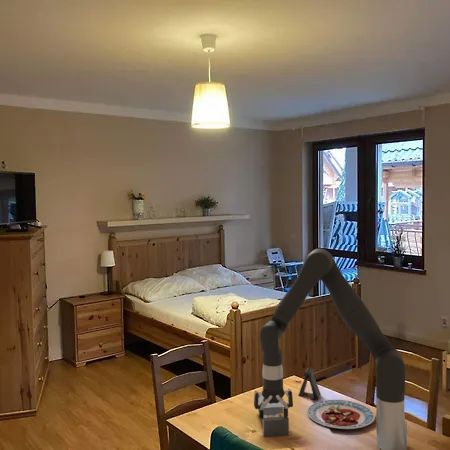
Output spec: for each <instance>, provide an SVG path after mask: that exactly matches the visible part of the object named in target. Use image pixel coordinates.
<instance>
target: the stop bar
mask: <svg viewBox="0 0 450 450" xmlns="http://www.w3.org/2000/svg"><path fill="white" fill-rule="evenodd" d="M289 420H290V419H289V416H288V417H284V416H280V417H270V418H263V422H262V435H263V438H273V437H275V438H276V437H290V429H289V428H290V425H289V424H290V422H289Z"/></svg>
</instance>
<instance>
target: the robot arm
mask: <svg viewBox="0 0 450 450" xmlns="http://www.w3.org/2000/svg"><path fill="white" fill-rule="evenodd" d="M320 281H321V282H322V283H323V284H324V286H325V287H326V289H327V291H328V293H329V295H330V298H331V300H332V302H333V304H334V307H335V309H336V311H337V313H338V314H339V316H340V317H341V319H342V320H343V322H344V323H345V325H346V326H347V328H349V329H350V330H351V332H352V333H353V334H354V335H355V336H356V337H358V338H359V340H361V341H362V342H363V344H364V345H365V347H366V348H367V349H368V351H369V353H370V354H371V356H372V359H373V360H374V361H375V367H376V373H375V374H376V376H375V377H376V389H375V390H376V391H375V394H376V395H375V397H376V398H375V399H376V400H375V401H376V404H375V405H376V406H375V407H376V410H375V411H376V414H375V418H376V421H375V422H376V423H375V424H376V429H375V430H376V447H377V448H378V449H379V450H408V423H407V421H406V419H405V413H406V412H405V395H406V394H405V393H406V365H405V360H404V358H403V356H402V354H401V353H400V352H399V351H398V350H397V349H396V348H395V347H394V345H393V344H392V343H391V342H390V341H389V340H388V338H387V337H386V336H385V334H384V333H383V332H382V330H381V328H380V326H379V324H378V323H377V321H376V320H375V319H376V318H375V317H374V316H373V315H372V313H371V312H370V310H369V308H368V307H367V305H366V304H365V302H364V301H363V300H362V298H361V297H360V296H359V295H358V293H357V292H356V291H355V289H354V288H353V287H352V285H351V284H350V283H349V282H348V281H347V279H346V278H345V276H344V275H343V273H342V272H341V269H340V268H339V266H338V264H337V263H336V261H335V259H334V257H333V255H332V254H331V253H330V252H329V251H328V250H326V249H324V248H315V249H313V250H312V251H310V252H309V253H308V255H307V256H306V257H305V260H304V263H303V265H302V268H301V270H300V272H299V274H298V276H297V278H296V279H295V281H294V283H293V284H292V285H291V287H290V288H289V289H288V291H286V293H285V294H284V296H283V297H282V299H281V300H280V301H279V302H278V305H277V306H276V308H275V310H274V313H273V314H272V316H271V318H269V320H268V322H266V323H265V324H264V325H262V327H261V328H260V331H259V341H260V345H261V351H262V372H261V374H262V390H261V391H258V390H254V393H253V395H254V397H253V406H254V409H256V410H258V409H259V411H258V416H259V418H260V419H261V421H262V420H263V418H264V413H263V409H264V407H265V406H266V405H267V404H268V403H270V404H272V403H278V402H280V403H281V404H282V406H283V413H282V414H283V417H288V418H289V408H293V407H294V402H293V401H294V400H293V399H294V398H293V391H292V390H291V389H290V388H288V389H286V390H285V389H284V369H283V353H282V349H281V348H280V346H279V339H280V338H281V337H282V336H283V335H284V333H285V331H286V330H287V327H288V326H289V324H290V322H292V320H293V318H295V316H296V315H297V314H298V312H299V310H300V309H301V307H302V305H304V302H305V300H306V298H307V297H308V295H309V294H310V292H311V291H312V289H313V288H314V287H315V286H316V285H317V283H319V282H320ZM261 395H262V396H263V397H264V398H263V400H262V402H261V403H260V405H259V404H258V398H260V396H261ZM285 395H286V397H287V400H288V402H286V401H285V400H284V398H283V397H284V396H285Z"/></svg>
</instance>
